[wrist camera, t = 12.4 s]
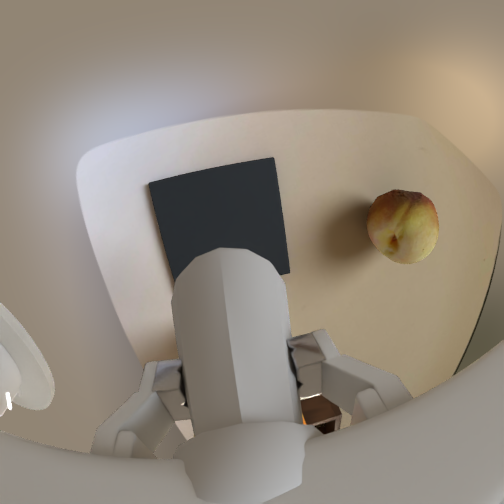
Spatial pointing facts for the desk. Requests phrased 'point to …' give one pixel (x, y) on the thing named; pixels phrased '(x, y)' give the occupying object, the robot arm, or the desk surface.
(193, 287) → the salt shaker
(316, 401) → the box
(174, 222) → the mat
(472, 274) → the desk surface
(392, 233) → the fruit
